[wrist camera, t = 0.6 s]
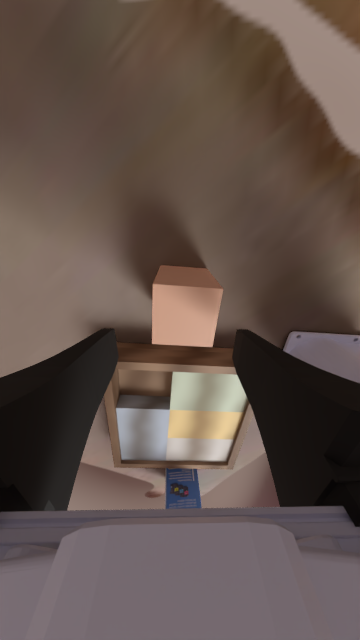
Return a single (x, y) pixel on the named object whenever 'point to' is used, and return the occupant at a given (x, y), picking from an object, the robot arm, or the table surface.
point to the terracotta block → (185, 306)
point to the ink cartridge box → (182, 489)
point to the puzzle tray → (157, 382)
